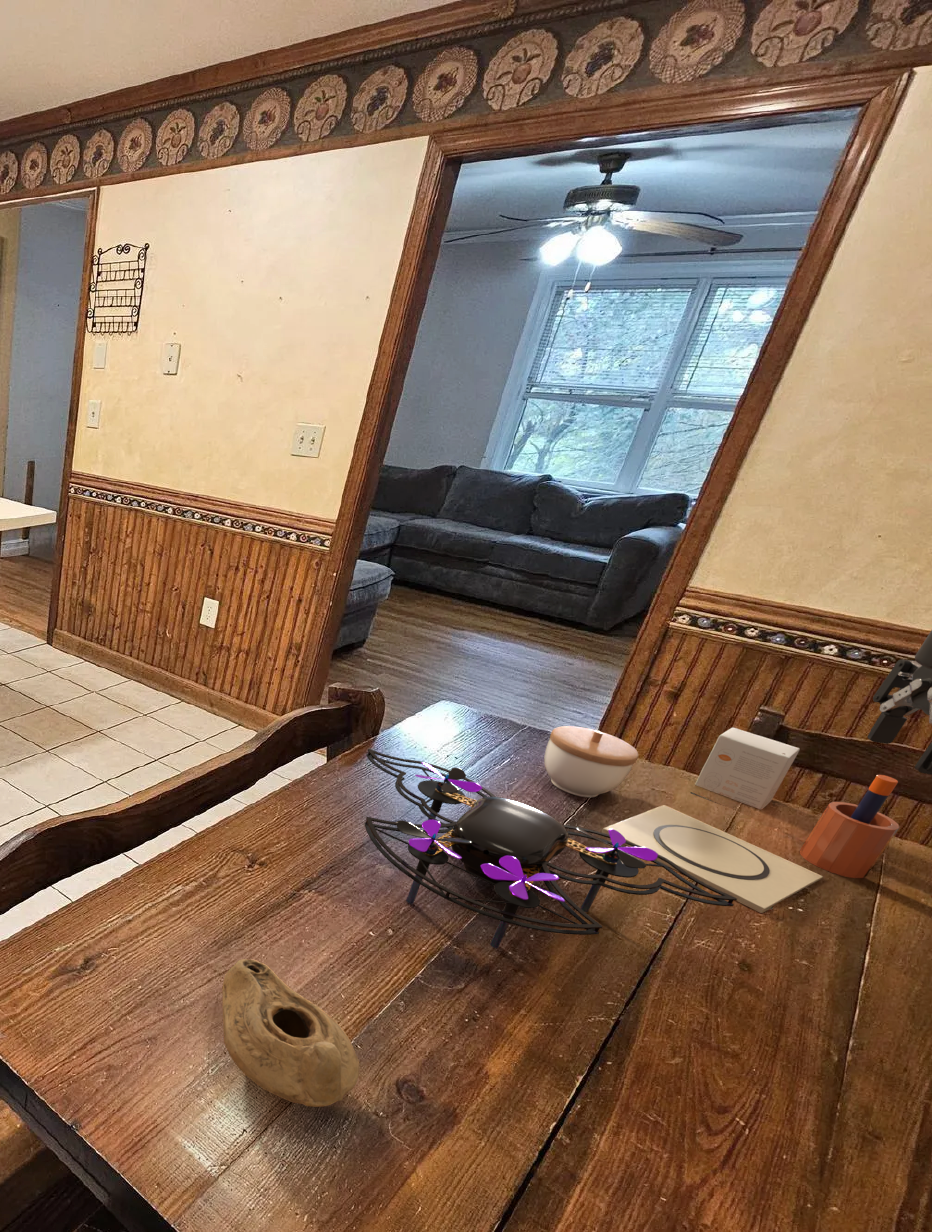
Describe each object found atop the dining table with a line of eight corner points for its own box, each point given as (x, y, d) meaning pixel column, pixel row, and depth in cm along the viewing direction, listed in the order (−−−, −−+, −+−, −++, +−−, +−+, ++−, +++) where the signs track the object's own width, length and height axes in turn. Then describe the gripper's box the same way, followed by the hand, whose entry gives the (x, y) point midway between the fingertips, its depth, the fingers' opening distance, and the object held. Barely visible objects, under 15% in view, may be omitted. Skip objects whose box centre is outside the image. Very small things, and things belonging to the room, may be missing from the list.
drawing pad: (661, 809, 115) (664, 803, 114) (820, 881, 101) (824, 875, 100) (600, 832, 108) (603, 826, 108) (761, 913, 94) (765, 907, 93)
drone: (750, 873, 84) (698, 995, 67) (709, 942, 89) (649, 1073, 72) (382, 731, 111) (278, 793, 94) (364, 789, 115) (261, 858, 98)
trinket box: (581, 769, 125) (605, 717, 120) (635, 806, 115) (663, 751, 111) (517, 768, 124) (539, 715, 120) (566, 805, 114) (591, 749, 110)
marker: (826, 857, 105) (880, 773, 99) (845, 865, 103) (901, 780, 98) (820, 860, 104) (874, 776, 98) (838, 868, 103) (894, 783, 97)
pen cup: (810, 847, 108) (841, 797, 104) (872, 874, 103) (907, 823, 99) (789, 857, 105) (820, 807, 102) (852, 886, 100) (887, 834, 97)
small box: (766, 810, 116) (802, 748, 112) (754, 821, 113) (791, 757, 109) (700, 785, 122) (732, 725, 117) (687, 795, 119) (719, 734, 114)
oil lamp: (260, 983, 79) (277, 921, 75) (380, 1107, 67) (407, 1041, 63) (170, 1013, 75) (184, 949, 71) (280, 1151, 63) (304, 1082, 59)
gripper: (1081, 660, 82) (984, 791, 90) (976, 620, 95) (898, 738, 102) (991, 648, 84) (903, 777, 91) (899, 609, 97) (828, 726, 104)
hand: (901, 756), depth 97 cm, fingers open, 8 cm apart
